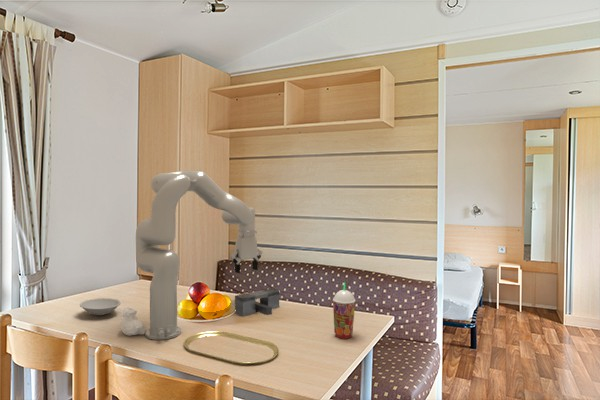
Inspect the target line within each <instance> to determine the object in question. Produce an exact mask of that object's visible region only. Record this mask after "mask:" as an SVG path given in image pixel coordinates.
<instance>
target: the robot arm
mask: <svg viewBox="0 0 600 400" xmlns="http://www.w3.org/2000/svg"><path fill="white" fill-rule="evenodd" d="M151 189H152V191H153V193H155V196H154V198H153V200H152V203H151V210H150V217H149V218H146V219H143V220H142V221H141V222H139V224H138V225H137V228H136V230H135V261H136V265H137V267H138V268H139V269H140V270H141V271H143V272H146V273H150V274H153V276H152V278H151V281H150V285H149V328H148V329H147V330H145V333H144V335H145V337H146V338H147V339H148V340H149V339H150V340H155V341H156V340H158V341H160V340H161V341H162V340H164V341H165V340H170V339H172V338H176V337H178V336H180V335H181V334H182V328H181V327H180V326H178V311H177V310H178V275H179V271H180V263H181V261H180V257H179V255H178V254H177V253H176V252H175V251H174V250H171V249H167V248H161V247H159V246H169V245H172V244H173V243H174V241H175V239H176V212H177V211H176V210H177V209H176V208H177V205H178V203H179V201H180V199H182V198H183V196H184V195H185V194H187V193H188V192H192V193H195V194H196V195H197V196H198V197H199V198H200V199H201V200H203V201H204V202H205V203H206V204H207V205H208V206H209V207H211V208H215V209H217V210H220V211H222V213H221V218H222V220H223V222H224V223H225V224H228V225H233V226H234V225H238V233H237V235H238V236H237V237H236V240H235V244H234V245H235V247H234V252H232V253H231V254H230V255H229V258H230V259H231V262H232V263H233V264H234V272H235V273H237V274H240V273H241V264H240V263H241V261H242V260H243V261H244V260H250V259H252V270H255V271H258V269H259V268H258V266H259V264H258V263H259V261H260V259H261V257H262V254H263V251H262V250H261V249H259V248H258V241H257V237H256V234H257V230H256V209H255V208H254V207H251V206H250V207H249V206H248V205H247V204H246V203H245V202H244V201H242V200H241V199H240V198H238V197H236V196H234V195H232V194H231V193H229V192H227V191H225V190H223V189H222V188H221V187H220V186H219V185H218V184H217V183H216V182H215V181H214V180H213V179H212V178H211V177H210V176H209V175H208V174H207V173H205V172H204V171H202V170H180V171H172V172H162V173H158V174H156V175H155V176H154V177H153V178H152V180H151Z"/></svg>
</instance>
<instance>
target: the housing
mask: <svg viewBox="0 0 600 400" xmlns="http://www.w3.org/2000/svg"><path fill="white" fill-rule="evenodd" d="M245 293H246V294H243V293H240V294H241V295H239V294H238V295H235V296H234V311H235V310H236V313H235V314H236V315H239V316H241V317H245V316H250V315H253V314H256V311H255V301H256V300H259V303H262V304H265V305H267V306H270V307H272V310H274V309H277V308H280V290H278V289H274V288H266V289H262V290H257V291H251V292H245Z"/></svg>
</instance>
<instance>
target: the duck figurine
mask: <svg viewBox="0 0 600 400" xmlns="http://www.w3.org/2000/svg"><path fill="white" fill-rule="evenodd" d="M137 312H138V311H137V310H135V309H132V307H129V306H127V307H124V308H123V309H122V310H121V317H122V318H121V321H120V322H119V324H120V327H121V328H120V329H121V331H122V334H124V335H126V336H130V337H131V336H136V335H137V336H139V335H145V332H146V325H145V323H144V322H143V321H142V320H140V319H139V318H137V317H136V316H135V315H136V314H137ZM138 334H139V335H138Z"/></svg>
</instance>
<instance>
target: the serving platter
mask: <svg viewBox="0 0 600 400" xmlns="http://www.w3.org/2000/svg"><path fill="white" fill-rule="evenodd" d="M205 336H207V337H224V338H229V339H234V340H237V341H242V342H246V343H251V344H255V345H260V346H264V347H266V348H269V349H271V350H272V351H273V354H272V357H270V358H268V359H264V360H259V361H253V362H252V361H250V362H245V361H236V360H233V359H232V360H231V359H228V358H223V357H221V356H217V355H214V354H209V353H204V352H202V351H197V350H193V349H190V347H189V346H190V344H191V342H192V343H193V341H195V340H198V339H200V338H201V339H202V338H205ZM197 338H198V339H197ZM188 345H189V346H188ZM183 347H185V349H186V350H188V352H191V353H194V354H197V355H200V354H201V356H205V357H208V358H213V359H216V360H220V361H224V362H227V363H231V364H235V365H239V366H240V365H241V366H256V365H261V364H265V363H267V362H270V361H271V360H274V359H275V358H276V357H277V355H278V354H279V351H280V350H279V347H278V346H277V345H276V344H275V343H273V342H270V341H267V340H263V339H259V338H254V337H251V336H250V337H249V336H246V335H241V334H236V333H232V332H227V331H221V330H219V331H217V330H215V331H205V332H204V331H203V332H199V333H195V334H193V335H190V336H188V337H187V338H185V340H184V342H183Z"/></svg>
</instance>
